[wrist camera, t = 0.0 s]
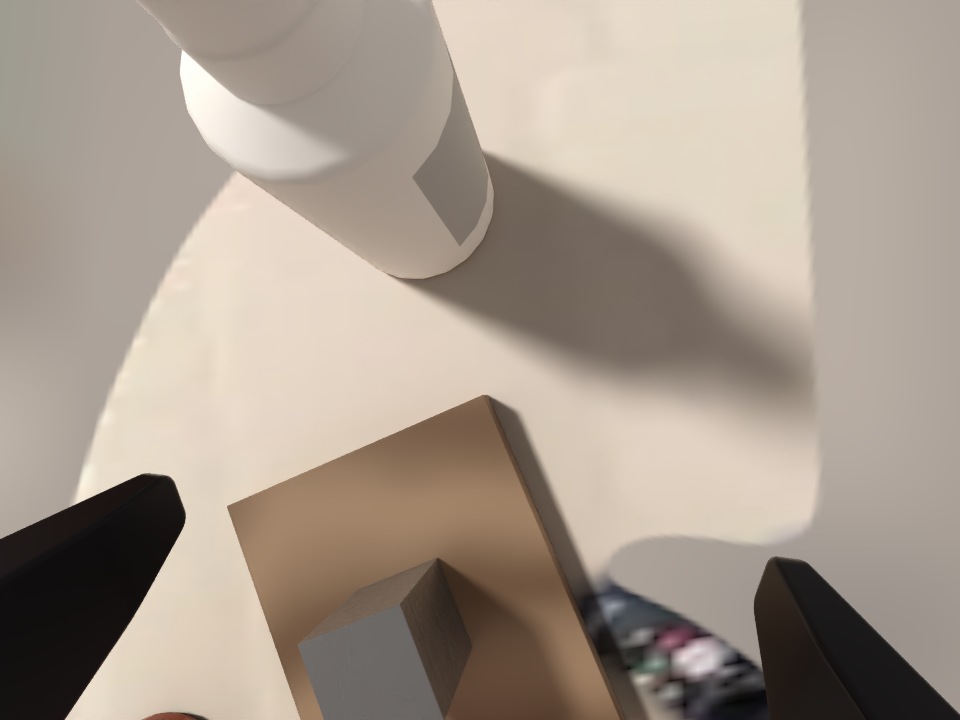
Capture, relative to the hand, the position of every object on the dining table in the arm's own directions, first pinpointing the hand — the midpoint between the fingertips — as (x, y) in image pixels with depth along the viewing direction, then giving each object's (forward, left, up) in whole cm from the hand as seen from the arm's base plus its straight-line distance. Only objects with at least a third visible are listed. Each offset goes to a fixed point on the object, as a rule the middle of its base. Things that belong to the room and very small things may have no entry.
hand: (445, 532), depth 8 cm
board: (-4, +7, -15) cm, 17 cm away
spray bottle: (+12, 0, -15) cm, 19 cm away
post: (-4, +7, -13) cm, 16 cm away
